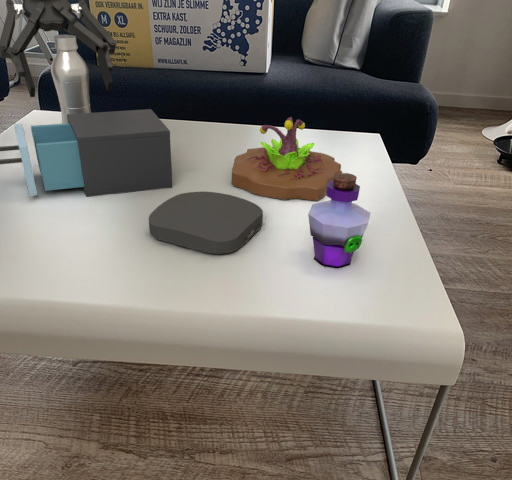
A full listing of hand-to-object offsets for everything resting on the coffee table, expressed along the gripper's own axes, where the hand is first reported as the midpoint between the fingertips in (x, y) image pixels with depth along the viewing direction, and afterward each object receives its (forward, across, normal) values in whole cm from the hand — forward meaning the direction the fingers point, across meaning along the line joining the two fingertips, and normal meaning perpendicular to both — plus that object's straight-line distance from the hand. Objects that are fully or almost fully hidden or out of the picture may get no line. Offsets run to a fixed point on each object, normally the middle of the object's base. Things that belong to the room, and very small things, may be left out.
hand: (72, 89), depth 97 cm
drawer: (+16, +8, +1) cm, 18 cm away
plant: (+26, -30, +9) cm, 41 cm away
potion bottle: (+46, -21, +29) cm, 58 cm away
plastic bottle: (+8, 0, -9) cm, 12 cm away
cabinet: (+18, -4, +1) cm, 18 cm away
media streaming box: (+35, -9, +18) cm, 40 cm away
